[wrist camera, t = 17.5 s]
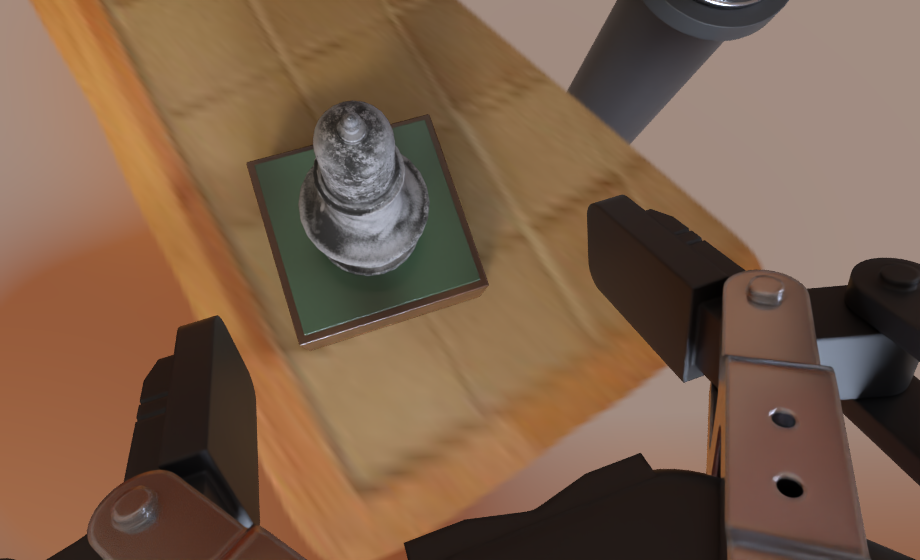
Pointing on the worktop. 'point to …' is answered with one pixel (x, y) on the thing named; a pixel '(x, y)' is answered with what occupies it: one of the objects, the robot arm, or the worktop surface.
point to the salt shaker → (362, 192)
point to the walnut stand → (358, 296)
